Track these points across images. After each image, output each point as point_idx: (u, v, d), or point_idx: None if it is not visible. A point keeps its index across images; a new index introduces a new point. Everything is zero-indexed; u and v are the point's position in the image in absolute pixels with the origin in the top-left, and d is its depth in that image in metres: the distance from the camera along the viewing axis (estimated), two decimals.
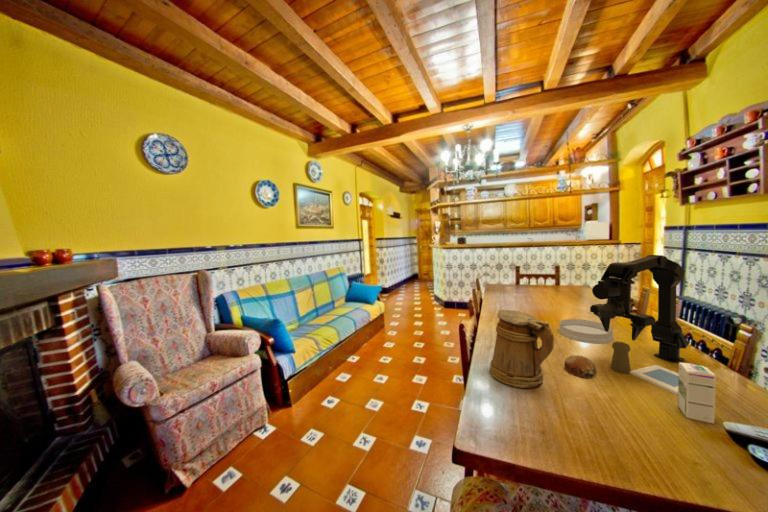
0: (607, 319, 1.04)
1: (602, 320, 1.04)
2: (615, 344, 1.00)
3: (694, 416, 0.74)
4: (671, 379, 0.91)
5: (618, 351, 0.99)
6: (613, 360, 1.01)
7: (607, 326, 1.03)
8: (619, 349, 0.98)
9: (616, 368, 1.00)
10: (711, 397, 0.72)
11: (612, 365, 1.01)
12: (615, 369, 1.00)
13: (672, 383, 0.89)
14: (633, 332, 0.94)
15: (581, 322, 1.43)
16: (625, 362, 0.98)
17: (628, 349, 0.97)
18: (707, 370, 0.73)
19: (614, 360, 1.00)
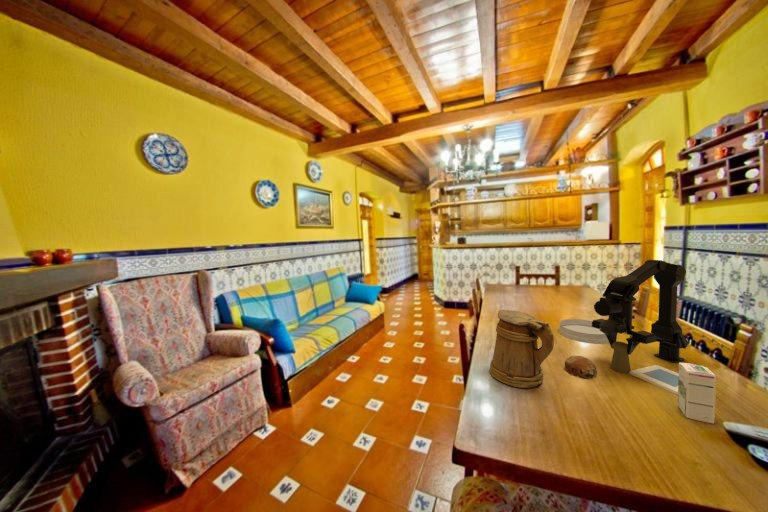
0: (613, 336, 1.03)
1: (608, 337, 1.03)
2: (615, 344, 1.00)
3: (694, 416, 0.74)
4: (671, 379, 0.91)
5: (618, 351, 0.99)
6: (613, 360, 1.01)
7: None
8: (619, 349, 0.98)
9: (616, 368, 1.00)
10: (711, 397, 0.72)
11: (612, 365, 1.01)
12: (615, 369, 1.00)
13: (672, 383, 0.89)
14: (628, 346, 0.96)
15: (581, 322, 1.43)
16: (625, 362, 0.98)
17: None
18: (707, 370, 0.73)
19: (614, 360, 1.00)
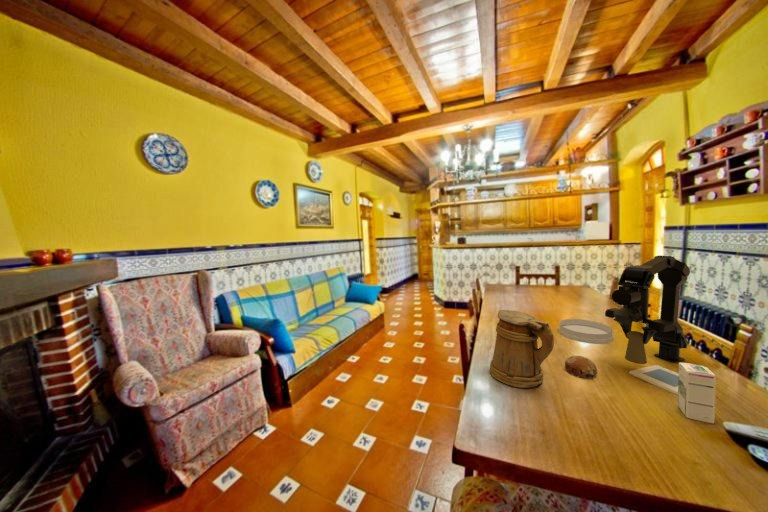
0: (628, 325, 1.00)
1: (623, 326, 1.00)
2: (630, 333, 0.97)
3: (694, 416, 0.74)
4: (671, 379, 0.91)
5: (633, 341, 0.96)
6: (628, 350, 0.98)
7: None
8: (634, 338, 0.95)
9: (631, 358, 0.97)
10: (711, 397, 0.72)
11: (627, 355, 0.98)
12: (630, 359, 0.97)
13: (672, 383, 0.89)
14: (644, 335, 0.93)
15: (581, 322, 1.43)
16: (640, 351, 0.95)
17: None
18: (707, 370, 0.73)
19: (629, 350, 0.97)
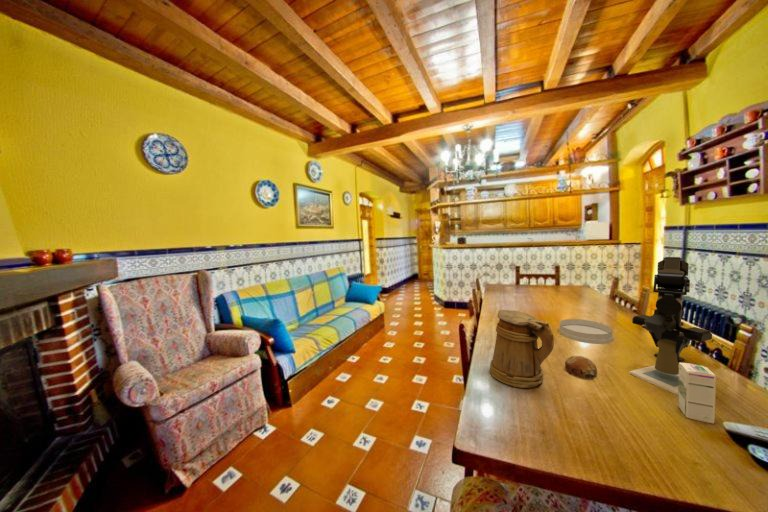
0: (658, 333, 0.94)
1: (653, 334, 0.94)
2: (661, 342, 0.92)
3: (694, 416, 0.74)
4: (671, 379, 0.91)
5: (665, 350, 0.91)
6: (659, 359, 0.93)
7: None
8: (666, 347, 0.90)
9: (662, 368, 0.91)
10: (711, 397, 0.72)
11: (657, 365, 0.93)
12: (661, 369, 0.92)
13: (672, 383, 0.89)
14: (678, 344, 0.88)
15: (581, 322, 1.43)
16: (673, 361, 0.90)
17: None
18: (707, 370, 0.73)
19: (659, 359, 0.92)
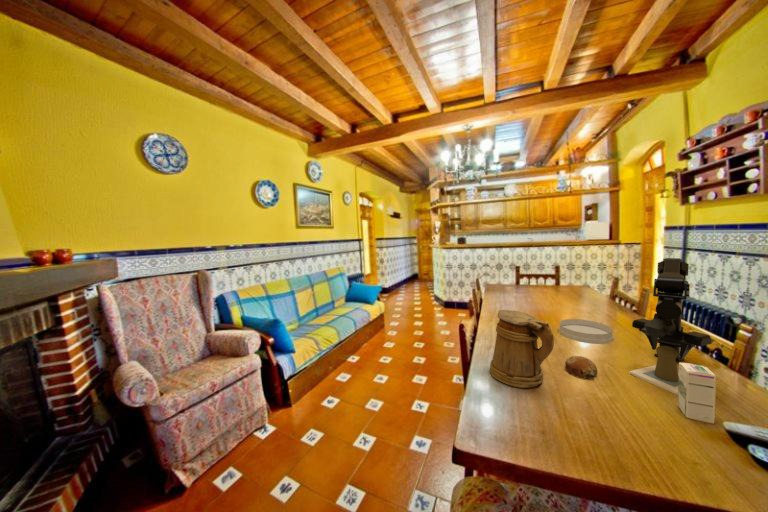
0: (655, 336, 0.95)
1: (649, 337, 0.95)
2: (660, 349, 0.92)
3: (694, 416, 0.74)
4: None
5: (664, 356, 0.91)
6: (658, 366, 0.93)
7: (655, 344, 0.95)
8: (665, 354, 0.91)
9: (661, 375, 0.92)
10: (711, 397, 0.72)
11: (657, 372, 0.93)
12: (661, 376, 0.92)
13: (672, 383, 0.89)
14: (681, 350, 0.87)
15: (581, 322, 1.43)
16: (672, 368, 0.90)
17: (676, 354, 0.90)
18: (707, 370, 0.73)
19: (659, 366, 0.93)
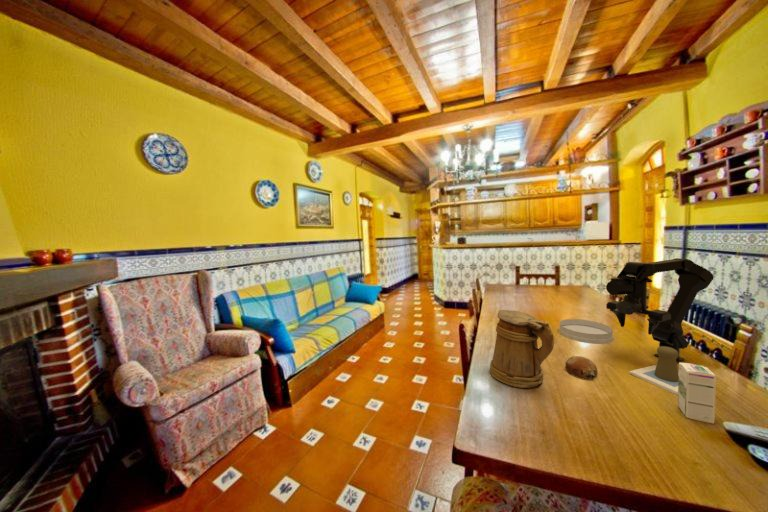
0: (623, 315, 1.10)
1: (618, 316, 1.10)
2: (661, 349, 0.92)
3: (694, 416, 0.74)
4: None
5: (665, 357, 0.91)
6: (658, 366, 0.93)
7: (623, 322, 1.10)
8: (666, 355, 0.90)
9: (661, 375, 0.92)
10: (711, 397, 0.72)
11: (657, 372, 0.93)
12: (661, 376, 0.92)
13: (672, 383, 0.89)
14: (649, 326, 1.00)
15: (581, 322, 1.43)
16: (672, 368, 0.90)
17: (676, 355, 0.89)
18: (707, 370, 0.73)
19: (659, 366, 0.92)
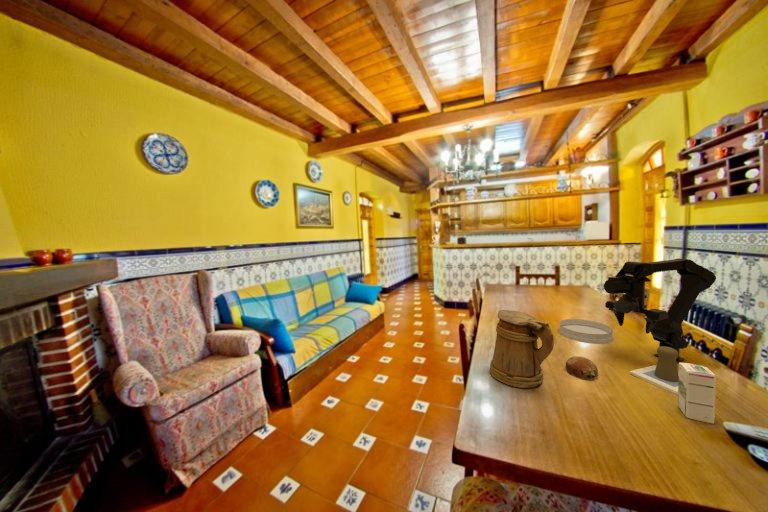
0: (621, 314, 1.11)
1: (617, 315, 1.11)
2: (661, 349, 0.92)
3: (694, 416, 0.74)
4: None
5: (665, 357, 0.91)
6: (658, 366, 0.93)
7: (621, 321, 1.11)
8: (666, 355, 0.90)
9: (661, 375, 0.92)
10: (711, 397, 0.72)
11: (657, 372, 0.93)
12: (661, 376, 0.92)
13: (672, 383, 0.89)
14: (647, 325, 1.01)
15: (581, 322, 1.43)
16: (672, 368, 0.90)
17: (676, 355, 0.89)
18: (707, 370, 0.73)
19: (659, 366, 0.92)
